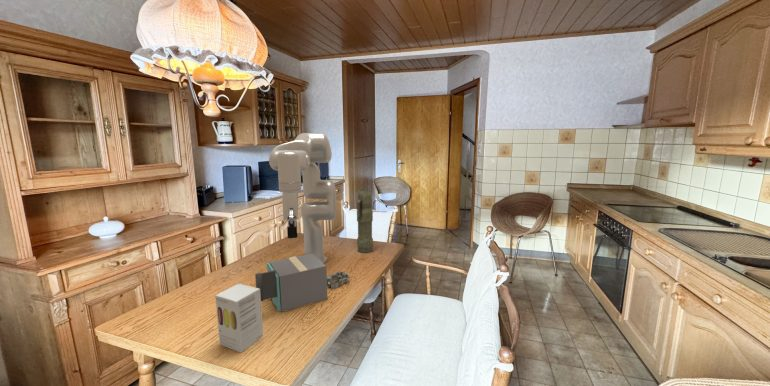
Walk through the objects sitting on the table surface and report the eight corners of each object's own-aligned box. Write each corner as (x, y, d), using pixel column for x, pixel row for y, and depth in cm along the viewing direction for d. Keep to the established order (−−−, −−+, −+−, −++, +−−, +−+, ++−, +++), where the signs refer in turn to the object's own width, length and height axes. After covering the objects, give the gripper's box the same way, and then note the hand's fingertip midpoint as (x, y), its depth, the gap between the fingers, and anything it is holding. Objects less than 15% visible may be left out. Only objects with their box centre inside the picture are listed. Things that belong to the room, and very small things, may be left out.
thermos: (353, 252, 177) (351, 191, 171) (363, 246, 187) (362, 187, 181) (366, 255, 173) (366, 192, 167) (376, 248, 183) (376, 188, 177)
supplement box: (218, 345, 98) (213, 295, 95) (242, 328, 107) (238, 282, 104) (241, 353, 95) (236, 301, 92) (264, 336, 103) (260, 287, 100)
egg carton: (333, 290, 134) (333, 281, 133) (322, 285, 139) (321, 276, 138) (351, 281, 142) (351, 273, 141) (340, 276, 147) (340, 268, 146)
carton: (271, 294, 130) (269, 261, 128) (313, 283, 140) (312, 252, 137) (281, 312, 117) (279, 276, 114) (327, 299, 126) (326, 265, 124)
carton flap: (251, 298, 126) (248, 261, 123) (270, 293, 130) (268, 257, 127) (259, 317, 113) (256, 276, 110) (280, 311, 117) (278, 271, 114)
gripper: (279, 184, 118) (282, 228, 121) (277, 191, 102) (280, 242, 105) (300, 183, 120) (302, 226, 123) (301, 190, 104) (304, 240, 107)
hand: (292, 233), depth 114 cm, fingers open, 9 cm apart
